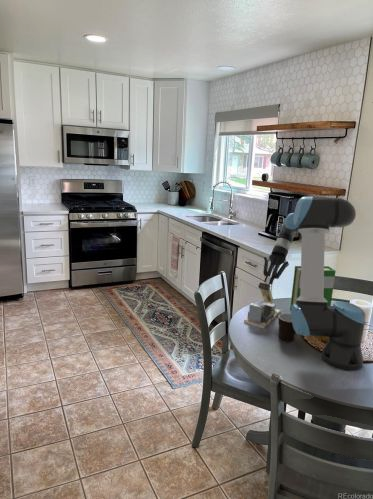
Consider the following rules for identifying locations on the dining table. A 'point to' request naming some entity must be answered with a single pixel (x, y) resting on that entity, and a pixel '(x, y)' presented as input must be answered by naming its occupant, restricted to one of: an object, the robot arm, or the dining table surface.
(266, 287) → the tan flat bar
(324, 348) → the robot arm
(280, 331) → the coffee mug
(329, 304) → the hardback book
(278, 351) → the dining table surface
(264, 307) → the heat-sink block
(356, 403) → the dining table surface
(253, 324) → the birch board
